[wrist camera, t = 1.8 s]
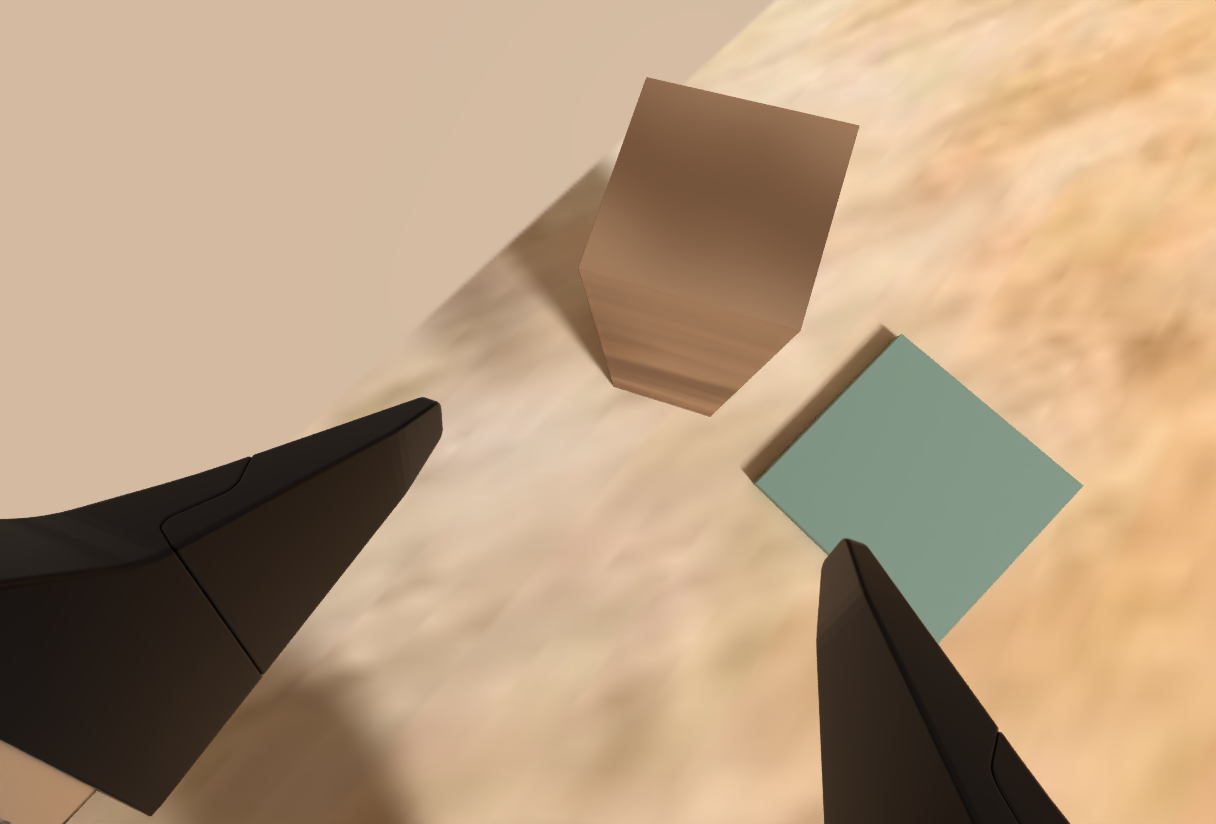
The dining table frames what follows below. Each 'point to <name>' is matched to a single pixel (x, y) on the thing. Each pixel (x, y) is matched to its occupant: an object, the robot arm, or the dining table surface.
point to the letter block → (709, 240)
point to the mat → (919, 483)
